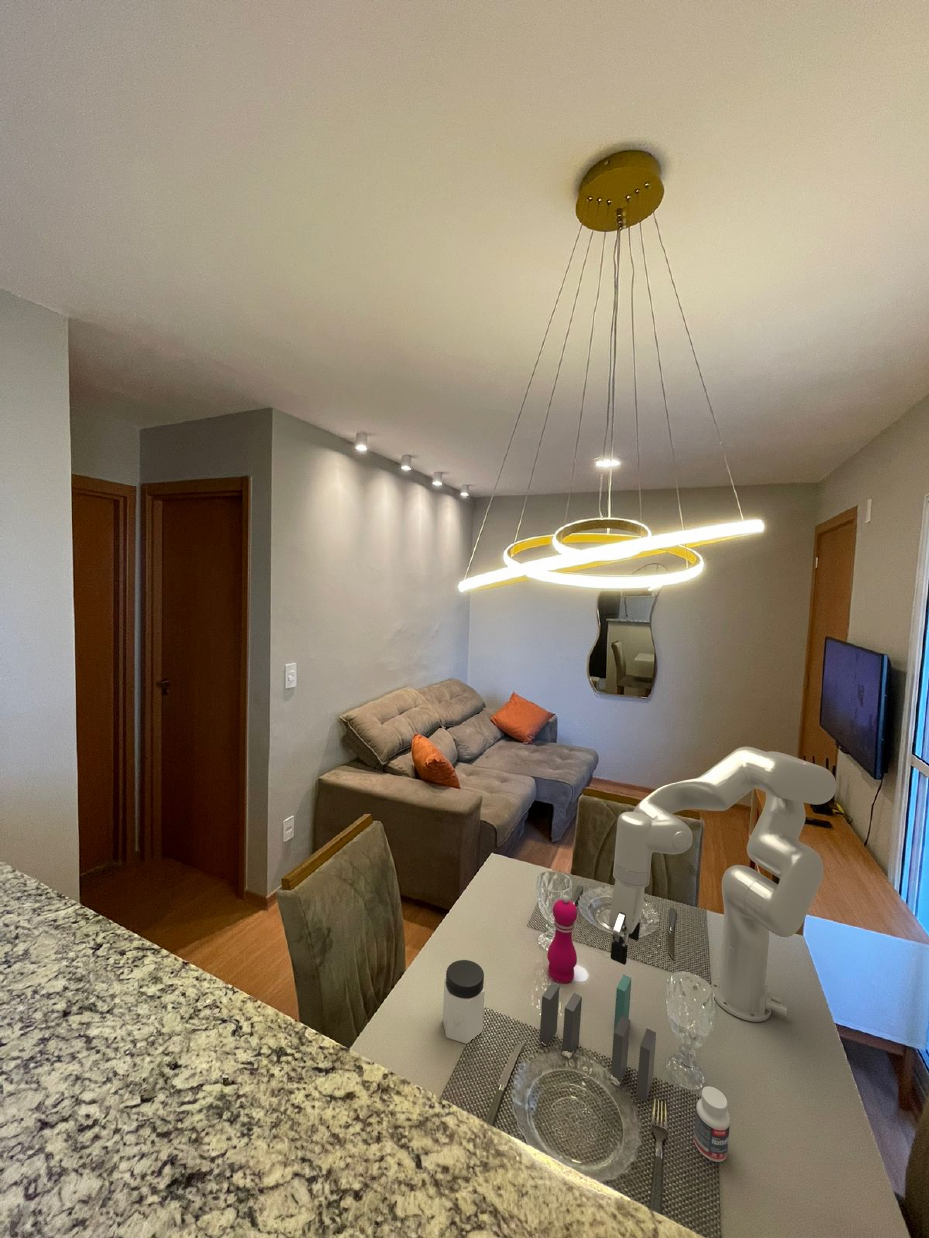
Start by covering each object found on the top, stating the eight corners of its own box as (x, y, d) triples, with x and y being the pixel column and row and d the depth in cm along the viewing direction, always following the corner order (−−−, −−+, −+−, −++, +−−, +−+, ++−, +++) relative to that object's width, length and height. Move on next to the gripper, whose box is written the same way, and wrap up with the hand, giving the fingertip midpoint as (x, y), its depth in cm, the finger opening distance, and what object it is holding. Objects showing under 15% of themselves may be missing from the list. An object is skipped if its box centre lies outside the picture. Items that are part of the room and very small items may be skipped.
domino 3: (628, 1021, 115) (631, 977, 114) (621, 1036, 110) (625, 991, 110) (620, 1017, 116) (623, 974, 115) (613, 1032, 111) (616, 987, 111)
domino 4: (626, 1068, 103) (630, 1019, 103) (619, 1087, 99) (623, 1036, 98) (617, 1063, 104) (621, 1015, 104) (610, 1081, 100) (613, 1032, 99)
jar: (435, 1035, 108) (438, 979, 108) (448, 1006, 116) (451, 954, 115) (476, 1048, 105) (480, 991, 105) (487, 1018, 113) (490, 965, 113)
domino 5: (652, 1082, 100) (656, 1032, 100) (646, 1102, 96) (650, 1050, 96) (643, 1077, 101) (646, 1027, 101) (636, 1096, 97) (640, 1045, 97)
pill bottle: (712, 1168, 85) (716, 1116, 85) (686, 1137, 90) (690, 1088, 90) (734, 1155, 87) (738, 1105, 87) (708, 1126, 92) (712, 1078, 92)
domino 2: (578, 1042, 108) (582, 996, 108) (570, 1059, 104) (573, 1011, 104) (570, 1038, 109) (573, 992, 109) (561, 1054, 105) (564, 1007, 105)
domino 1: (556, 1030, 111) (559, 985, 111) (547, 1046, 107) (550, 999, 107) (549, 1026, 112) (551, 981, 112) (539, 1042, 108) (542, 995, 108)
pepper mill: (575, 987, 124) (581, 906, 123) (545, 981, 125) (550, 901, 125) (575, 966, 131) (580, 889, 130) (546, 961, 132) (551, 885, 132)
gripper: (625, 851, 121) (619, 923, 122) (601, 882, 107) (594, 963, 107) (658, 862, 117) (652, 936, 117) (638, 895, 102) (631, 979, 103)
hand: (624, 949), depth 112 cm, fingers open, 9 cm apart
